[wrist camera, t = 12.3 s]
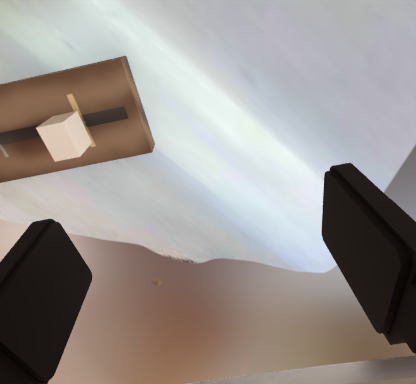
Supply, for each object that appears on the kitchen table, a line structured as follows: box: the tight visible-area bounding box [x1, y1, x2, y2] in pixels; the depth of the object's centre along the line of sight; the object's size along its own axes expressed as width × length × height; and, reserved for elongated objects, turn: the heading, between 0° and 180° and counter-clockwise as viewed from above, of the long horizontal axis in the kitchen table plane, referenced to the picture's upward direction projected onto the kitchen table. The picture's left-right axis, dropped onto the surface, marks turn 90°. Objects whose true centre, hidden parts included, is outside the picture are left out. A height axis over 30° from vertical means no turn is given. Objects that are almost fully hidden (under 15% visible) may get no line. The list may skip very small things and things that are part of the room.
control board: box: [0, 56, 155, 183], centre depth 36 cm, size 12×24×3 cm, turn 101°
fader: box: [36, 111, 92, 162], centre depth 32 cm, size 4×3×7 cm
